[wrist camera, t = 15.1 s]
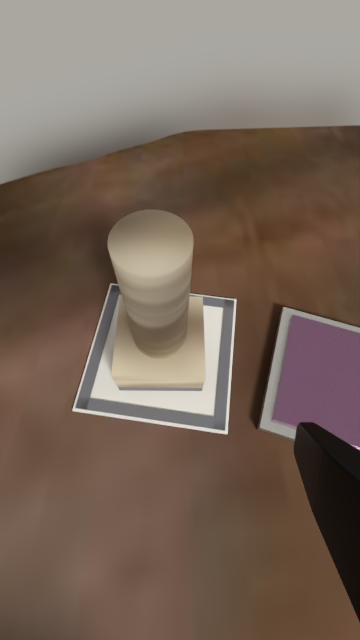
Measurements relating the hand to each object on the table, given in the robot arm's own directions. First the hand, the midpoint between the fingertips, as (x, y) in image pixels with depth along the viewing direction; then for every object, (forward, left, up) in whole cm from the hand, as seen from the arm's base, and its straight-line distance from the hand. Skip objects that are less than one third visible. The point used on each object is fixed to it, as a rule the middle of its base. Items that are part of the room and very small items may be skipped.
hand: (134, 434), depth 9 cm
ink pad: (+14, 0, -14) cm, 20 cm away
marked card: (+3, +7, -14) cm, 16 cm away
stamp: (+3, +7, -13) cm, 15 cm away
